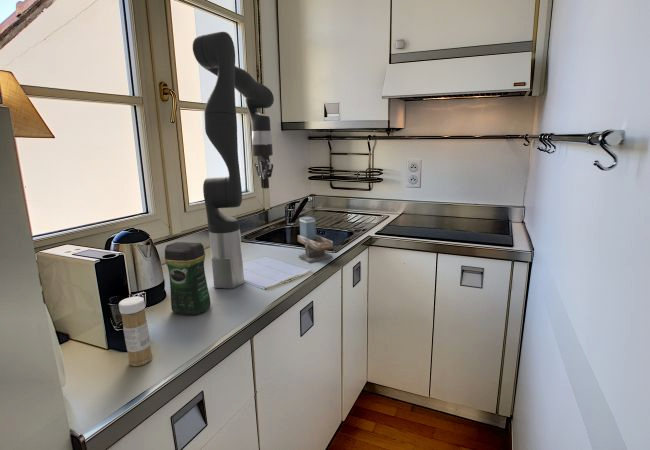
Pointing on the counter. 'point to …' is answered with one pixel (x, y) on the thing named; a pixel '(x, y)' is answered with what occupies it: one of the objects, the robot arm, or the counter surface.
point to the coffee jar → (187, 278)
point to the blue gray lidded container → (307, 227)
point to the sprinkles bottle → (135, 330)
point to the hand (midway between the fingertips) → (265, 187)
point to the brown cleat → (315, 248)
